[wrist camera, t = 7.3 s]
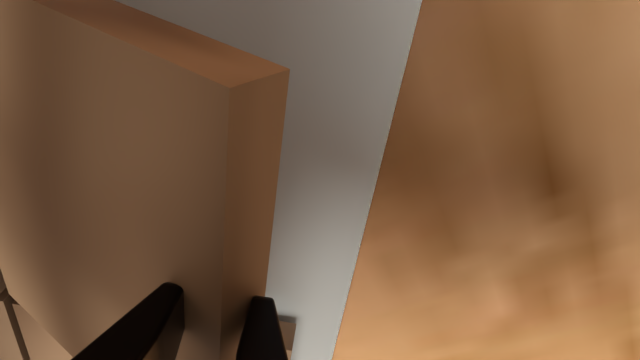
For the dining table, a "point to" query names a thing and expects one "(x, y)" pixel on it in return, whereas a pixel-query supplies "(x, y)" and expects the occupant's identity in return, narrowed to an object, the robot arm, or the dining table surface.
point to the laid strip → (10, 328)
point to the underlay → (317, 135)
